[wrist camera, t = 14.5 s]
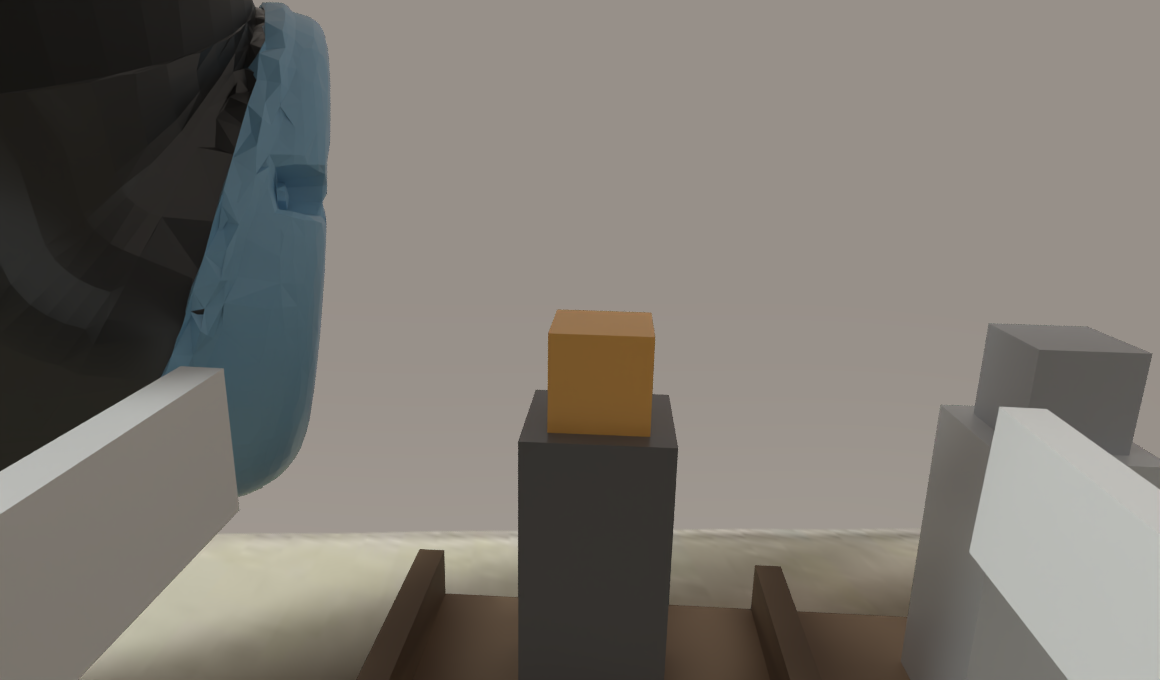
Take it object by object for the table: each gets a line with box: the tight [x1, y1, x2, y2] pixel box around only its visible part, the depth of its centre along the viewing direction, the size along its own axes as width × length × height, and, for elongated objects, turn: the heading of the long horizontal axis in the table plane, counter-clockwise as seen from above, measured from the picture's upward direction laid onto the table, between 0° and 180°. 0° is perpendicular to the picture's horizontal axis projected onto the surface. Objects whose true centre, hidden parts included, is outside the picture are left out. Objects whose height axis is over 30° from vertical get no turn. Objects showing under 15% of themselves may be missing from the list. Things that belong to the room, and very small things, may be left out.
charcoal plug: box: [518, 310, 678, 680], centre depth 25 cm, size 4×4×13 cm
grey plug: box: [901, 323, 1160, 680], centre depth 24 cm, size 4×4×13 cm
